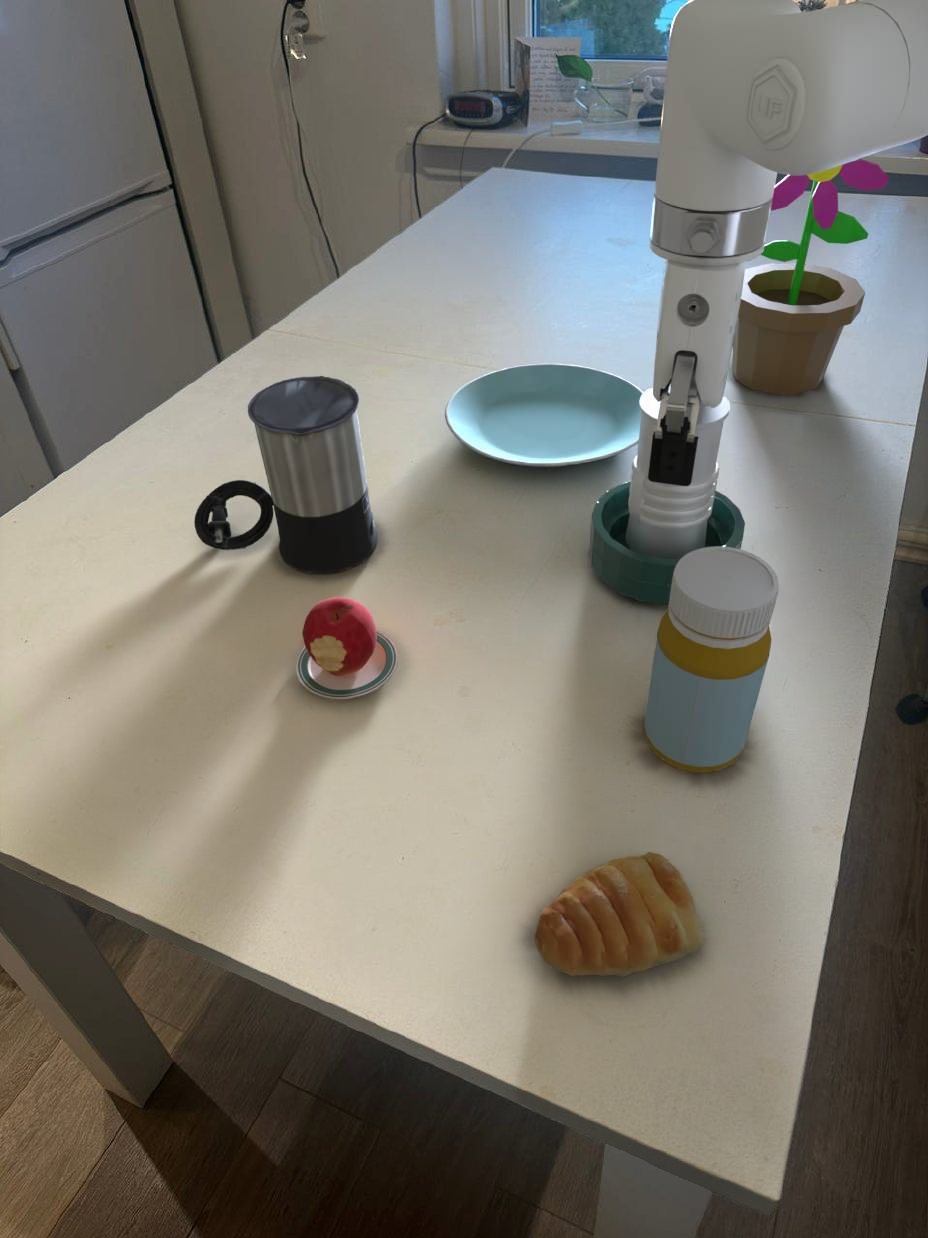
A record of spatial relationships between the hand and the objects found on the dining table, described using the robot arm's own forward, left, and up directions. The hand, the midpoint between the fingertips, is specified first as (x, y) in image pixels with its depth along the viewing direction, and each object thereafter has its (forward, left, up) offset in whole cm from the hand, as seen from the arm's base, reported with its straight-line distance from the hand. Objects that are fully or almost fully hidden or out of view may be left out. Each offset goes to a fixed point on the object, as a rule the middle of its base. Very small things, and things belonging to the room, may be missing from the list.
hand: (677, 448), depth 69 cm
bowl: (0, 0, -12) cm, 12 cm away
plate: (+15, -20, -12) cm, 28 cm away
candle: (0, 0, -11) cm, 11 cm away
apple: (+22, +19, -12) cm, 31 cm away
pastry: (-3, +35, -12) cm, 37 cm away
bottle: (-5, +19, -12) cm, 23 cm away
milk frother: (+34, +5, -12) cm, 36 cm away
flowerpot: (-8, -39, -12) cm, 42 cm away
